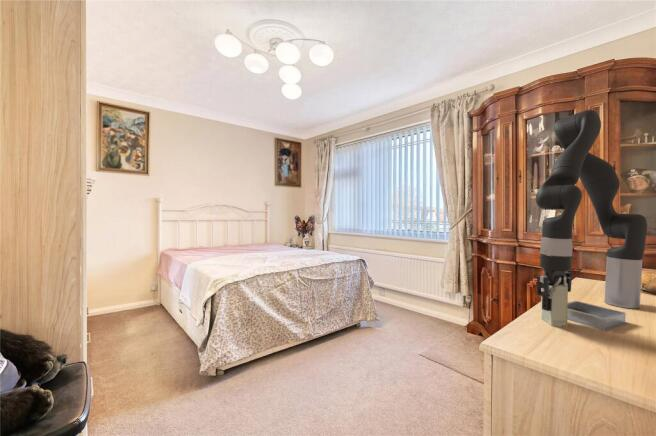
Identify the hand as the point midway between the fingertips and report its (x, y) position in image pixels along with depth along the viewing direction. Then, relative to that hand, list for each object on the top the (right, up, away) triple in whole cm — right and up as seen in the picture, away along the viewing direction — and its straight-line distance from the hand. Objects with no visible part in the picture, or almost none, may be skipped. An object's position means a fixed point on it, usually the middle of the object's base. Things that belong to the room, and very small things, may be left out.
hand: (553, 308), depth 88 cm
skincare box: (0, -5, 0) cm, 5 cm away
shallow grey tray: (+14, -4, +4) cm, 15 cm away
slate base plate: (+14, -5, +4) cm, 15 cm away
